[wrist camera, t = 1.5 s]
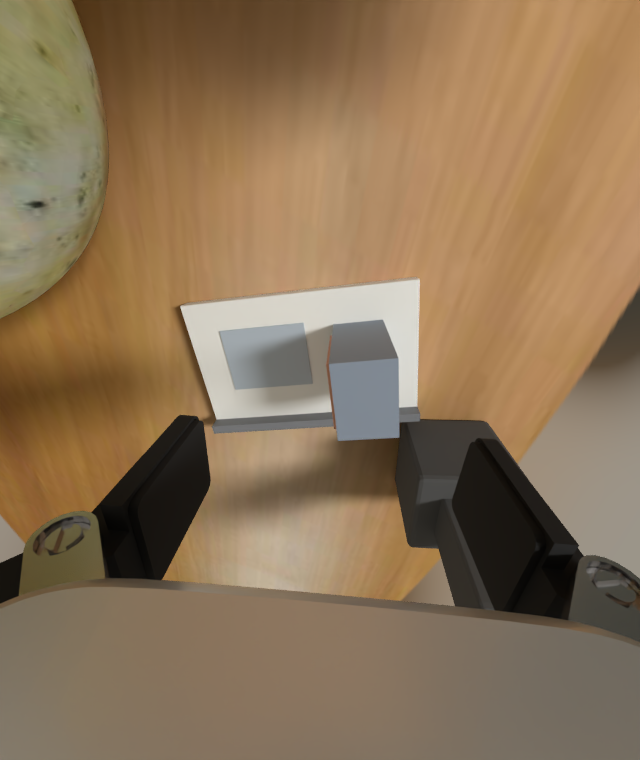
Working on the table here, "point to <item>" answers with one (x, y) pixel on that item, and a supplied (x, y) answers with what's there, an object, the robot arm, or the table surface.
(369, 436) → the box
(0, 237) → the speckled stone ball
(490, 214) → the table surface
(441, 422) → the sculpture
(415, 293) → the shelf board
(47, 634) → the robot arm
